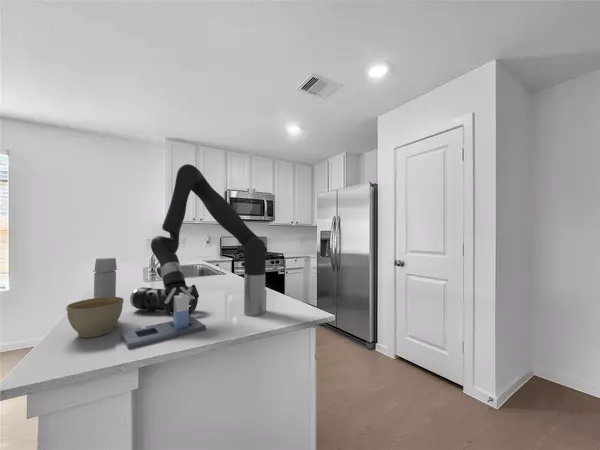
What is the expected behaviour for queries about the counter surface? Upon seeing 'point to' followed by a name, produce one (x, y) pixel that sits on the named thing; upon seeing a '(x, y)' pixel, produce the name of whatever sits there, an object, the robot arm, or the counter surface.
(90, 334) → the planter bowl
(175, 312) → the plug
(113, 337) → the counter surface
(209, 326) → the counter surface
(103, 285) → the water bottle
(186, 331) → the panel
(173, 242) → the robot arm
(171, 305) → the muzzle brake
